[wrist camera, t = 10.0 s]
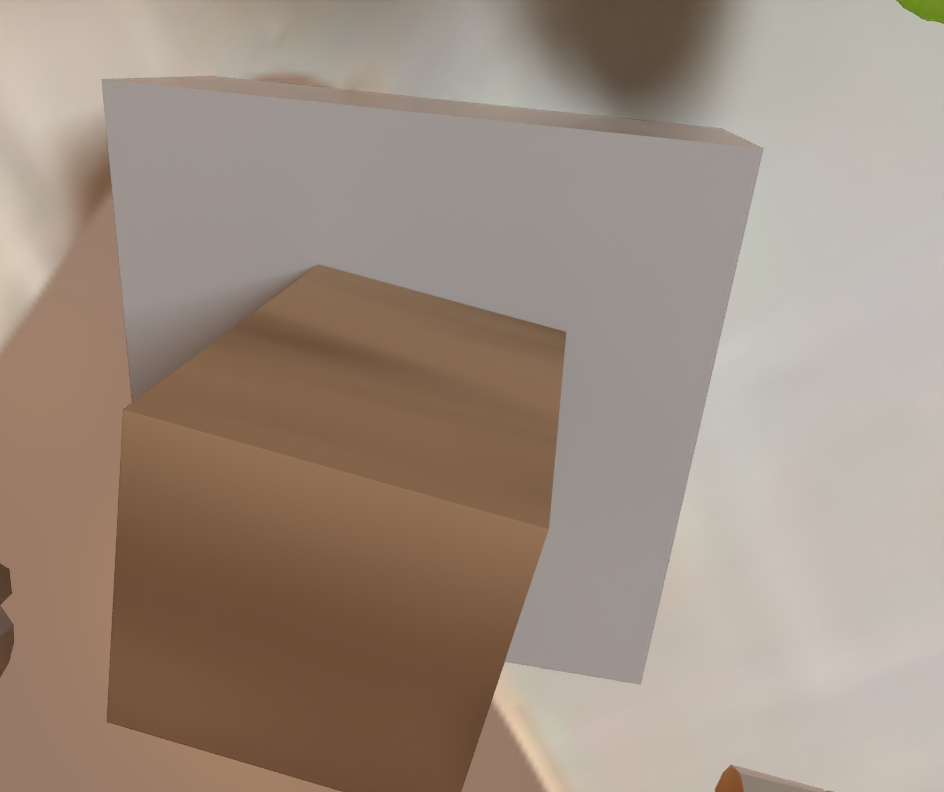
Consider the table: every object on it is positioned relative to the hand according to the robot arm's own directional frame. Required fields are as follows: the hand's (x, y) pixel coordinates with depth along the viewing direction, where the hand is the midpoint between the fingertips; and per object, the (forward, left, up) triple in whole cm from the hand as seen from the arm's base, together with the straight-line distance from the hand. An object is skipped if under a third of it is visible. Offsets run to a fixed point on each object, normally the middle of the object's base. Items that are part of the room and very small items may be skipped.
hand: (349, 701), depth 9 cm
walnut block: (0, +1, -8) cm, 8 cm away
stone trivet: (0, +1, -13) cm, 13 cm away
